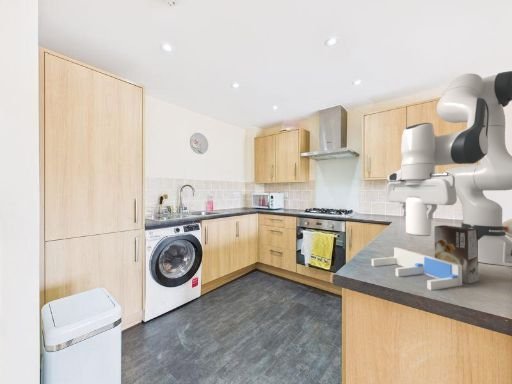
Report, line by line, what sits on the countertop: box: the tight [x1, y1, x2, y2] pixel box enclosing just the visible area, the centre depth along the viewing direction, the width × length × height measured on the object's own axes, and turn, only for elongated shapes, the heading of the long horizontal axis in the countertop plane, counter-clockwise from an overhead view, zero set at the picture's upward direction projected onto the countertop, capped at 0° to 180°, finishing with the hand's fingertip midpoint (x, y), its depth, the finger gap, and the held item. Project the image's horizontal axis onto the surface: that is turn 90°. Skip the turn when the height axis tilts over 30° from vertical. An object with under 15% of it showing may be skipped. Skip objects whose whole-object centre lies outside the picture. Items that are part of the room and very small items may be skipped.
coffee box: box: [433, 224, 479, 284], centre depth 69 cm, size 9×6×16 cm
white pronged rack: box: [371, 246, 463, 291], centre depth 71 cm, size 12×21×6 cm, turn 15°
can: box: [405, 197, 432, 237], centre depth 68 cm, size 6×6×12 cm
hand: (416, 217), depth 68 cm, fingers closed on can, 5 cm apart
